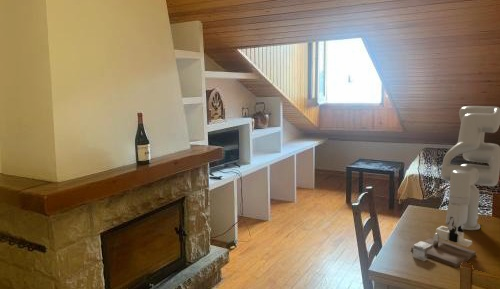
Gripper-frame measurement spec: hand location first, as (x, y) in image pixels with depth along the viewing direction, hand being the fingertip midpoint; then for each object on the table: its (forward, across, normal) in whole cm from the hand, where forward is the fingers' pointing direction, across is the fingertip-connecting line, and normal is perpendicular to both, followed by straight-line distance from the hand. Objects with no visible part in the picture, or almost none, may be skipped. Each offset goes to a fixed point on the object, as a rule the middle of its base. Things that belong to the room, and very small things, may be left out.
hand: (455, 239), depth 164 cm
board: (+5, +6, -2) cm, 8 cm away
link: (+1, 0, -1) cm, 1 cm away
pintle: (+3, +6, -6) cm, 9 cm away
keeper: (+5, +17, -6) cm, 18 cm away
